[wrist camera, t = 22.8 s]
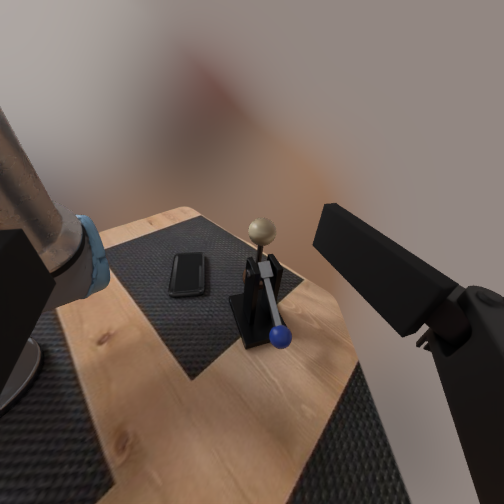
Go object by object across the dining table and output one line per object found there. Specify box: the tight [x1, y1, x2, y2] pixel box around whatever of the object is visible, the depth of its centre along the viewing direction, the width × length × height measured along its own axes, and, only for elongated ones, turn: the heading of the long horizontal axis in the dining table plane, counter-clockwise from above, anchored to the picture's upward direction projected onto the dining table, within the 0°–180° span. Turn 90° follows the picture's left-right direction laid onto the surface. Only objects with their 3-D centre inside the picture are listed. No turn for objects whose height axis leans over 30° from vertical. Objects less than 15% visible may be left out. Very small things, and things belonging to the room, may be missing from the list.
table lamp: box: [243, 218, 276, 289], centre depth 50 cm, size 7×7×17 cm
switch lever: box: [256, 261, 292, 349], centre depth 36 cm, size 14×4×4 cm
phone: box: [168, 252, 205, 297], centre depth 54 cm, size 8×1×15 cm
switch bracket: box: [229, 254, 287, 349], centre depth 41 cm, size 12×9×15 cm
